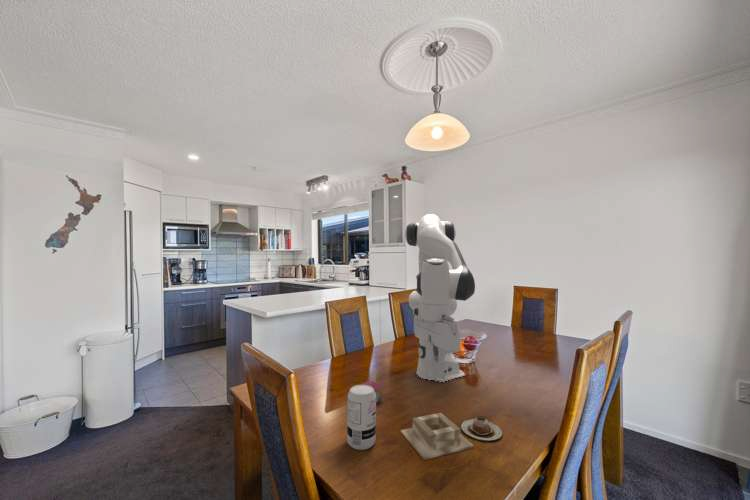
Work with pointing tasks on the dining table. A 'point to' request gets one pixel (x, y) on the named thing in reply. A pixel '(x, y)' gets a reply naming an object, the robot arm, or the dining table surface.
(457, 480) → the dining table surface
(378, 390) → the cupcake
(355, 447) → the supplement can
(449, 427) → the well
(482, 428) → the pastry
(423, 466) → the dining table surface
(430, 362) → the grey long block
